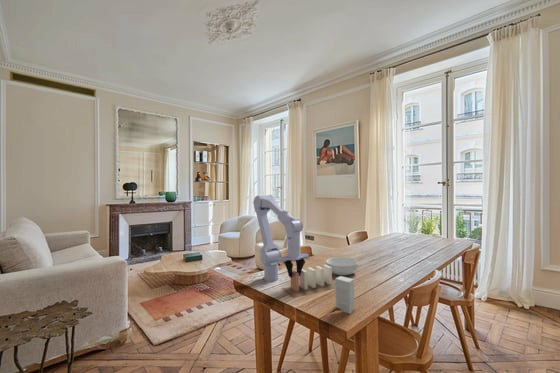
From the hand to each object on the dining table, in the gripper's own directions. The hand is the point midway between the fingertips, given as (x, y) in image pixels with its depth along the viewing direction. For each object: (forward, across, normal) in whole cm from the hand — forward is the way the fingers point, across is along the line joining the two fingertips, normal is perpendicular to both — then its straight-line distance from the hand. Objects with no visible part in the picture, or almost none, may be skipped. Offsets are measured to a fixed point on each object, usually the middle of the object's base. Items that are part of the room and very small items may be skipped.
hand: (294, 276), depth 116 cm
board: (+7, +8, -2) cm, 11 cm away
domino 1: (+6, +4, 0) cm, 8 cm away
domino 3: (+6, +14, 0) cm, 15 cm away
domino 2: (+6, +9, 0) cm, 11 cm away
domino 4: (+6, +18, 0) cm, 19 cm away
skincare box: (+7, +9, -24) cm, 27 cm away
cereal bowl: (+7, +34, +9) cm, 36 cm away
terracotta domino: (+6, 0, 0) cm, 6 cm away
